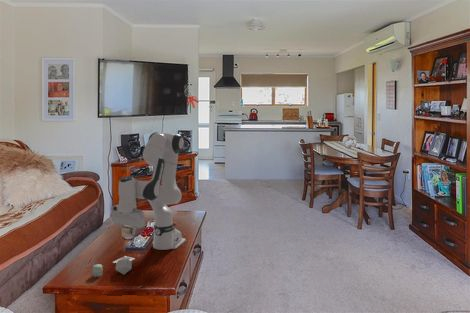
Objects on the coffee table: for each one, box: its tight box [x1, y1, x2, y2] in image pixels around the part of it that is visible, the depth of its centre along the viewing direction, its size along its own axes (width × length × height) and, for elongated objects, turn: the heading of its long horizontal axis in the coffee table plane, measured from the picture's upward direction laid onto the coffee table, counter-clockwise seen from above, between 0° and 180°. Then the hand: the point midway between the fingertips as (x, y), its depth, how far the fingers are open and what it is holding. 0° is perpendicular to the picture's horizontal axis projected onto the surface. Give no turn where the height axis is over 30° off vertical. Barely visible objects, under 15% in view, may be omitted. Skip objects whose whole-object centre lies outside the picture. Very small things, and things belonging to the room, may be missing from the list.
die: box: [115, 256, 133, 276], centre depth 207 cm, size 8×9×10 cm
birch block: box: [121, 225, 137, 239], centre depth 204 cm, size 5×5×5 cm
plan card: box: [112, 255, 136, 264], centre depth 222 cm, size 10×8×1 cm
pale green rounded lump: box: [92, 263, 104, 278], centre depth 204 cm, size 5×5×5 cm
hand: (128, 233), depth 205 cm, fingers closed on birch block, 5 cm apart
